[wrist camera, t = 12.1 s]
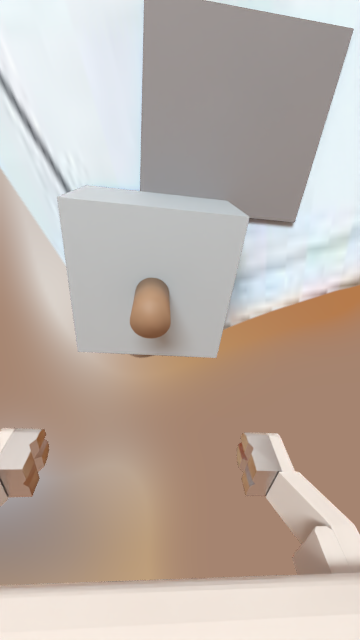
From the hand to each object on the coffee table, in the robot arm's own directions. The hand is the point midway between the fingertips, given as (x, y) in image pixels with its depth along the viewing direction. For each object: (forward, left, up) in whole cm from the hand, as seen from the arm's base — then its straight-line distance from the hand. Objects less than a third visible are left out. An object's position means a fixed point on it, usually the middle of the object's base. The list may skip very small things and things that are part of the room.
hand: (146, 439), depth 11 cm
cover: (0, 0, -24) cm, 24 cm away
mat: (-7, -14, -25) cm, 29 cm away
